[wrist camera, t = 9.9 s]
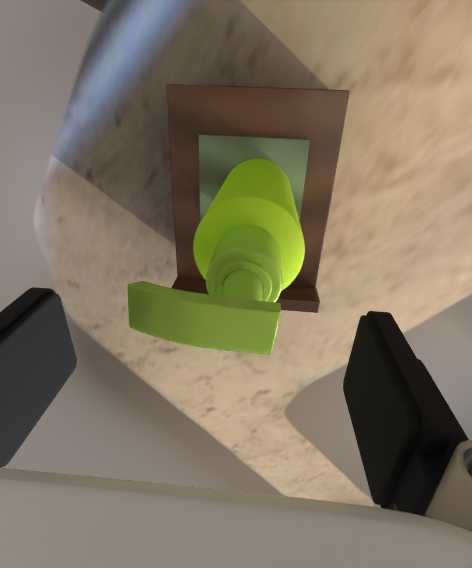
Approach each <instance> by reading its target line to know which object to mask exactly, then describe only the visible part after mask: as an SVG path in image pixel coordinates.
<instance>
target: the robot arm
mask: <svg viewBox="0 0 472 568" xmlns="http://www.w3.org/2000/svg"><path fill="white" fill-rule="evenodd" d="M76 362H77V359H76V355H75V351H74V347H73V344H72V340H71V336H70V332H69V329H68V325H67V321H66V317H65V313H64V310H63V306H62V302H61V298H60V296H59V295H58V294H56V293H55V292H54V290H52V289H47V288H30V289H29V290H27V291H26V292H25V293H24V294H22V295H21V296H20V297H19V298H18V299H16V300H15V301H14V302H12V303H11V304H10V305H9V306H7V307H6V308H5V309H4V310H2V311H1V312H0V568H472V440H469V439H468V438H467V436H466V434H465V433H464V431H463V429H462V428H461V426H460V424H459V423H458V421H457V419H456V418H455V416H454V414H453V413H452V411H451V409H450V407H449V406H448V404H447V402H446V401H445V399H444V398H443V396H442V394H441V392H440V391H439V389H438V387H437V386H436V384H435V382H434V381H433V379H432V377H431V376H430V374H429V372H428V371H427V369H426V367H425V366H424V364H423V363H422V362H421V360H419V359H417V358H416V356H415V354H414V353H413V351H412V349H411V347H410V346H409V344H408V342H407V341H406V339H405V337H404V335H403V334H402V332H401V330H400V329H399V327H398V325H397V323H396V322H395V320H394V318H393V317H392V315H391V314H390V313H388V312H375V311H369V312H368V313H367V315H366V316H364V315H362V316H361V318H360V321H359V324H358V328H357V332H356V336H355V340H354V343H353V347H352V351H351V355H350V358H349V362H348V366H347V370H346V374H345V377H344V382H343V390H344V395H345V399H346V402H347V406H348V410H349V414H350V417H351V421H352V425H353V429H354V432H355V436H356V440H357V444H358V447H359V451H360V455H361V459H362V462H363V466H364V470H365V473H366V477H367V481H368V485H369V489H370V492H371V496H372V499H373V501H374V503H375V504H378V505H380V506H381V508H377V507H370V506H362V505H354V504H346V503H338V502H330V501H322V500H313V499H305V498H296V497H287V496H277V495H267V494H257V493H249V492H239V491H230V490H220V489H211V488H201V487H191V486H181V485H172V484H162V483H152V482H141V481H132V480H121V479H112V478H101V477H91V476H81V475H71V474H59V473H50V472H38V471H28V470H18V469H7V468H1V467H3V466H5V465H7V464H8V463H9V461H10V460H11V459H12V457H13V456H14V454H15V453H16V452H17V450H18V449H19V448H20V446H21V445H22V443H23V442H24V440H25V439H26V438H27V436H28V435H29V433H30V432H31V431H32V429H33V428H34V426H35V425H36V423H37V422H38V421H39V419H40V418H41V416H42V415H43V413H44V412H45V411H46V409H47V408H48V406H49V405H50V404H51V402H52V401H53V399H54V398H55V397H56V395H57V394H58V392H59V391H60V389H61V388H62V387H63V385H64V384H65V382H66V381H67V379H68V378H69V377H70V375H71V374H72V372H73V371H74V369H75V367H76Z"/></svg>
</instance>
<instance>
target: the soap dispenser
mask: <svg viewBox="0 0 472 568" xmlns="http://www.w3.org/2000/svg"><path fill="white" fill-rule="evenodd" d="M193 251H194V258H195V262H196V265H197V267H198V269H199V271H200V273H201V274H202V276H203V277H204V279H205V280H206V288H207V291H208V294H202V293H195V292H188V291H182V290H177V289H172V288H167V287H163V286H159V285H155V284H152V283H148V282H144V281H140V282H136V283H132V284H129V285H128V309H129V325H130V327H131V328H133V329H135V330H137V331H140V332H143V333H146V334H149V335H152V336H155V337H158V338H161V339H165V340H168V341H172V342H176V343H181V344H186V345H191V346H197V347H203V348H210V349H218V350H227V351H237V352H248V353H259V354H272V349H273V345H274V340H275V336H276V331H277V327H278V322H279V318H280V313H281V306H280V303H276V301H277V299H278V298H279V295H280V293H281V291H282V290H284V289H285V288H286V287H287V286H288V285H290V284H291V283H292V281H293V280H294V279H295V278H296V276H297V275H298V273H299V271H300V269H301V267H302V264H303V260H304V254H305V244H304V238H303V234H302V230H301V226H300V222H299V218H298V214H297V210H296V206H295V202H294V198H293V194H292V190H291V186H290V182H289V180H288V177H287V176H286V174H285V172H284V171H283V170H282V169H281V168H280V167H279V166H278V165H276V164H275V163H273V162H271V161H269V160H265V159H249V160H246V161H244V162H242V163H240V164H238V165H237V166H236V167H234V168H233V169H232V171H231V172H230V173H229V175H228V176H227V178H226V180H225V181H224V183H223V185H222V186H221V188H220V190H219V191H218V193H217V195H216V196H215V198H214V200H213V202H212V203H211V205H210V207H209V208H208V210H207V212H206V213H205V215H204V217H203V218H202V220H201V222H200V223H199V225H198V228H197V230H196V233H195V237H194V243H193Z"/></svg>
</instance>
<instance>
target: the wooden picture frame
mask: <svg viewBox="0 0 472 568" xmlns="http://www.w3.org/2000/svg"><path fill="white" fill-rule="evenodd" d="M167 97H168V115H169V133H170V151H171V168H172V186H173V204H174V222H175V240H176V258H177V275H178V277H177V278H176V280H175V282H174V284H173V286H172V289H177V290H182V291H188V292H195V293H202V294H208V291H207V288H206V280H205V279H204V277H203V276H202V274H201V273H200V271H199V269H198V267H197V265H196V262H195V258H194V251H193V243H194V237H195V233H196V230H197V228H198V225H199V223H200V222H201V220H202V218H203V217H204V215H205V213H206V212H207V210H208V208H209V207H210V205H211V203H212V202H213V200H214V198H215V196H216V195H217V193H218V191H219V190H220V188H221V186H222V185H223V183H224V181H225V180H226V178H227V176H228V175H229V173H230V172H231V171H232V169H233V168H234V167H236V166H237V165H238V164H240V163H242V162H244V161H246V160H249V159H265V160H269V161H271V162H273V163H275V164H276V165H278V166H279V167H280V168H281V169H282V170H283V171H284V172H285V174H286V176H287V177H288V180H289V182H290V186H291V190H292V194H293V198H294V202H295V206H296V210H297V214H298V218H299V222H300V226H301V230H302V234H303V238H304V244H305V254H304V260H303V264H302V267H301V269H300V271H299V273H298V275H297V276H296V278H295V279H294V280H293V281H292V283H291V284H290V285H288V286H287V287H286V288H285V289H284V290H282V291H281V293H280V295H279V298H278V299H277V301H276V303H280V306H281V310H289V311H301V312H314V313H318V311H319V305H320V300H319V296H318V292H317V288H316V284H317V278H318V272H319V267H320V261H321V255H322V249H323V243H324V237H325V232H326V226H327V220H328V214H329V208H330V202H331V197H332V191H333V185H334V179H335V173H336V167H337V162H338V156H339V150H340V144H341V138H342V132H343V127H344V121H345V115H346V109H347V103H348V97H349V90H323V89H295V88H267V87H240V86H212V85H184V84H167Z"/></svg>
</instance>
